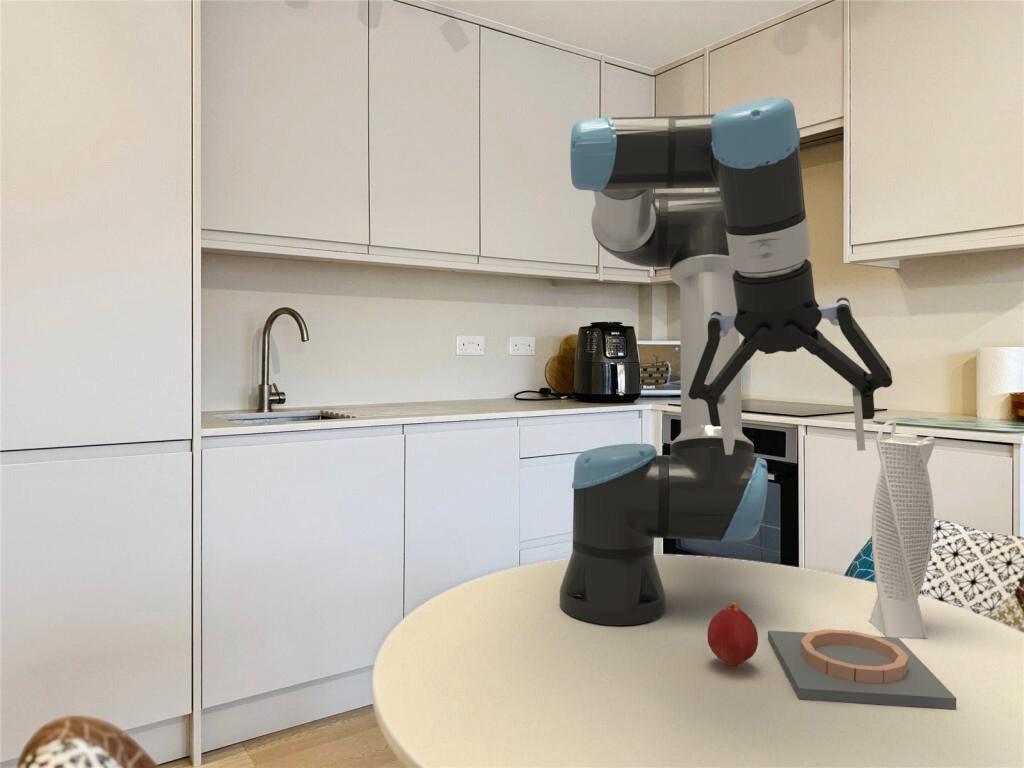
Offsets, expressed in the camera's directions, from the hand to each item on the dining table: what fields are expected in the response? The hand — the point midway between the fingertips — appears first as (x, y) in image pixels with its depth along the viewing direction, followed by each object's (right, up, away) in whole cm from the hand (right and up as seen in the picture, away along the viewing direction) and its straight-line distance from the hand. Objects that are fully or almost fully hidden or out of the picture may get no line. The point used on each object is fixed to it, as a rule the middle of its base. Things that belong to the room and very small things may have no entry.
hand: (793, 446), depth 83 cm
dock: (+9, -27, +5) cm, 29 cm away
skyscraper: (+21, -26, +18) cm, 38 cm away
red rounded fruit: (-5, -27, +6) cm, 28 cm away
